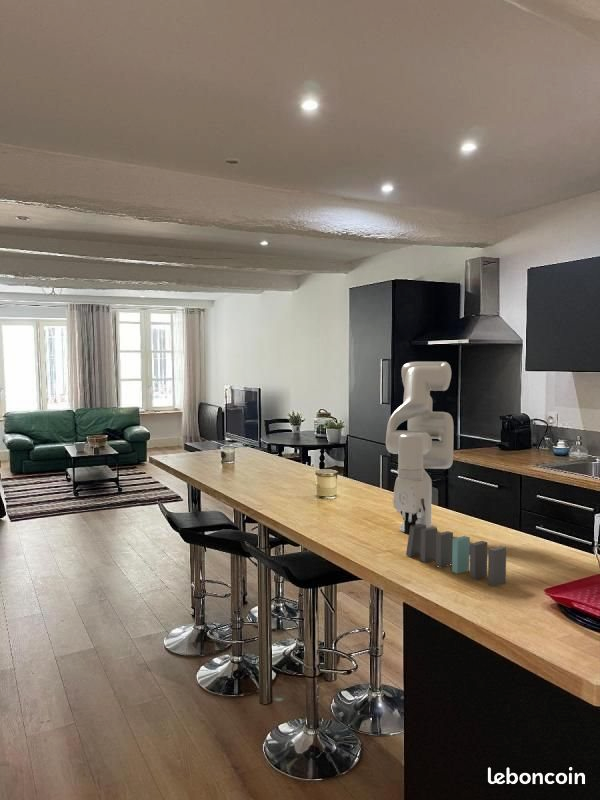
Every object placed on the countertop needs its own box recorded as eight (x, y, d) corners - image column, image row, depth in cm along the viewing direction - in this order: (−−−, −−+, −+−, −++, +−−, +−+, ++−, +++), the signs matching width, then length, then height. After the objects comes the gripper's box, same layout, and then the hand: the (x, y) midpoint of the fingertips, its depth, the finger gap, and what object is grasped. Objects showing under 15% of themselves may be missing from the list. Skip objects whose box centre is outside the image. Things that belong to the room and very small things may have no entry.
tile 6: (487, 584, 160) (488, 549, 159) (499, 580, 162) (500, 545, 162) (493, 586, 158) (494, 550, 158) (505, 582, 161) (506, 547, 160)
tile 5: (469, 578, 164) (470, 543, 164) (481, 574, 167) (482, 540, 167) (474, 580, 163) (475, 545, 163) (486, 576, 166) (487, 542, 165)
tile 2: (420, 561, 179) (420, 529, 179) (432, 558, 182) (432, 526, 182) (425, 562, 178) (425, 530, 177) (436, 559, 181) (437, 528, 180)
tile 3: (435, 566, 174) (436, 533, 174) (447, 563, 177) (448, 531, 177) (440, 568, 173) (441, 535, 172) (452, 564, 176) (452, 532, 175)
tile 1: (405, 554, 184) (410, 525, 182) (417, 552, 187) (422, 523, 185) (410, 557, 183) (414, 527, 181) (421, 554, 185) (426, 525, 184)
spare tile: (452, 572, 169) (452, 538, 169) (464, 568, 172) (464, 535, 172) (457, 574, 168) (457, 540, 167) (469, 570, 171) (469, 537, 170)
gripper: (384, 472, 189) (384, 530, 190) (419, 479, 176) (419, 541, 177) (402, 469, 193) (401, 527, 194) (437, 476, 181) (436, 537, 182)
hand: (409, 533), depth 186 cm, fingers closed
